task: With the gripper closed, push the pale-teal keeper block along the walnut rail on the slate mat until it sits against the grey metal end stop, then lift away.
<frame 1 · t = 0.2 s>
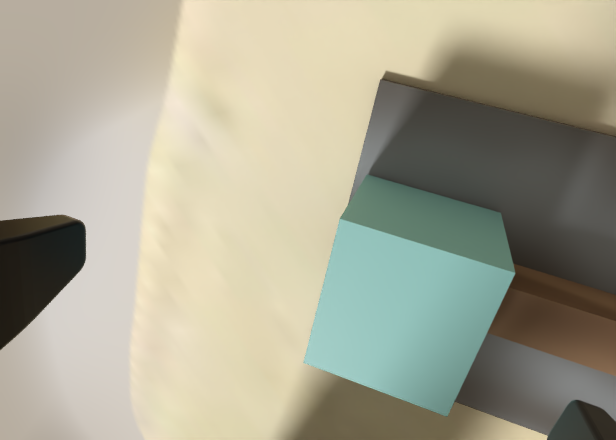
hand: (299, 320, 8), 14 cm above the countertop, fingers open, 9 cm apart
keeper: (403, 286, 19), point 3 cm above the countertop, slide at 0.0 cm
rail track: (537, 293, 21), on the countertop
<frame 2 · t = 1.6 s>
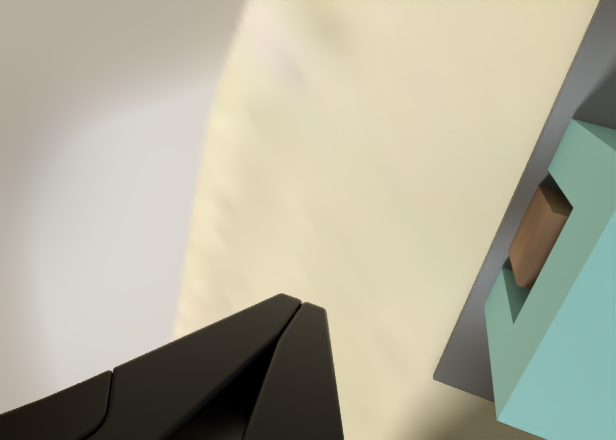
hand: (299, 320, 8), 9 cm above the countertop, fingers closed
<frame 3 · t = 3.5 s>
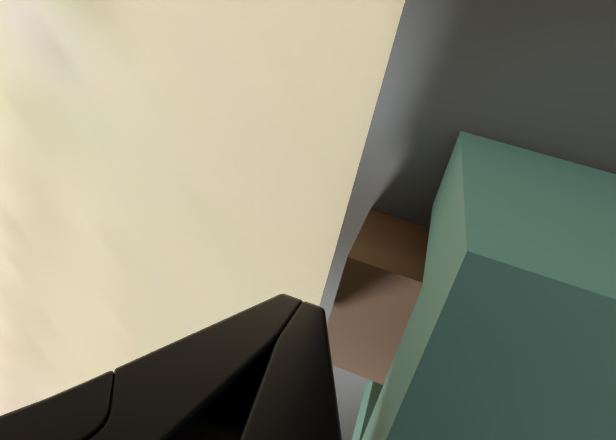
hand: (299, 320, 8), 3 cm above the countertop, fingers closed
keeper: (572, 420, 7), point 3 cm above the countertop, slide at 1.2 cm, touching gripper
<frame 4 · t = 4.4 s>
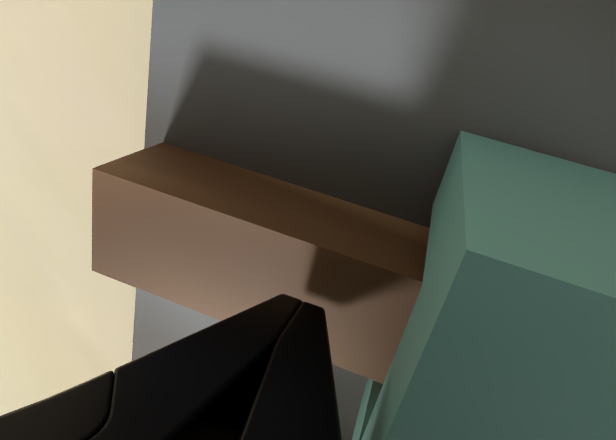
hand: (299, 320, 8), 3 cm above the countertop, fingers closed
keeper: (572, 419, 7), point 3 cm above the countertop, slide at 6.5 cm, touching gripper
rail track: (518, 303, 10), on the countertop
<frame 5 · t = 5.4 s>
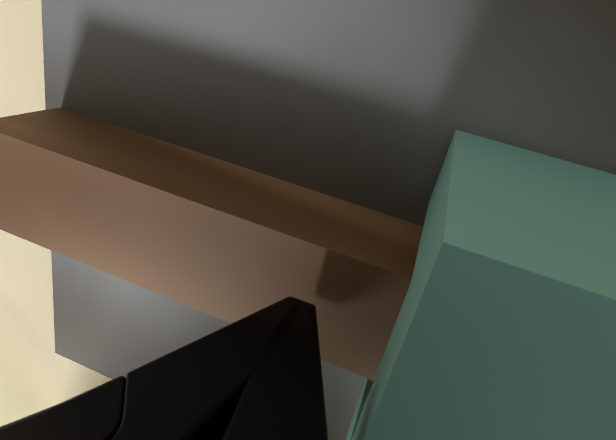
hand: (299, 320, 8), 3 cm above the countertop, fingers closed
keeper: (563, 419, 7), point 3 cm above the countertop, slide at 9.5 cm, touching gripper, rail track
rail track: (384, 258, 11), on the countertop
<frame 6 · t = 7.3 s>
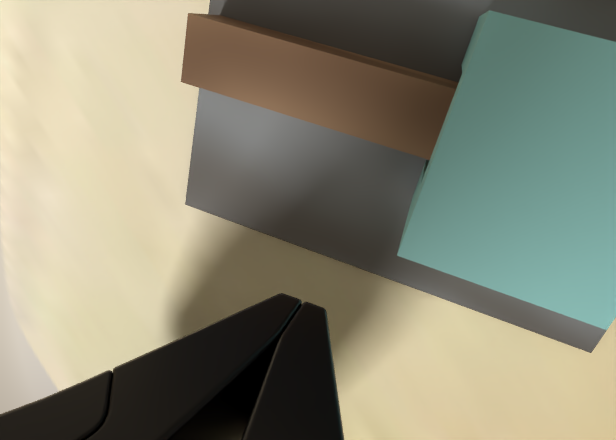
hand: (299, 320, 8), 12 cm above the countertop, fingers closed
keeper: (536, 157, 14), point 3 cm above the countertop, slide at 9.5 cm, touching rail track
rail track: (430, 108, 17), on the countertop
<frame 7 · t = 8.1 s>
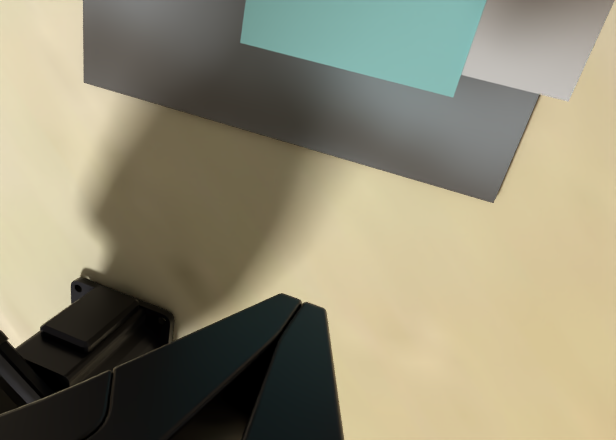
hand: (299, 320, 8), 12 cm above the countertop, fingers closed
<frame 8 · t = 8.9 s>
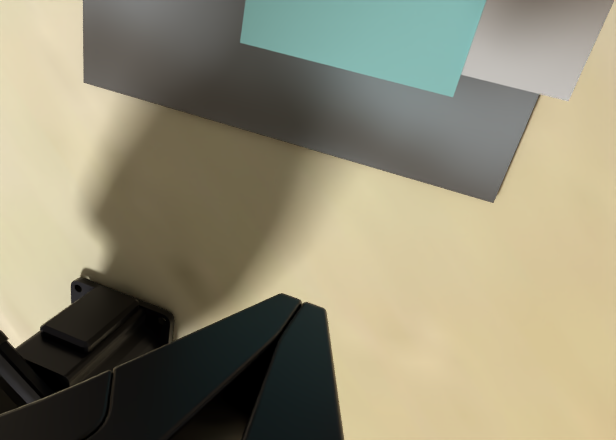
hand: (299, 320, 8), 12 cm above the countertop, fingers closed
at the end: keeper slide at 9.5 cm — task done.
